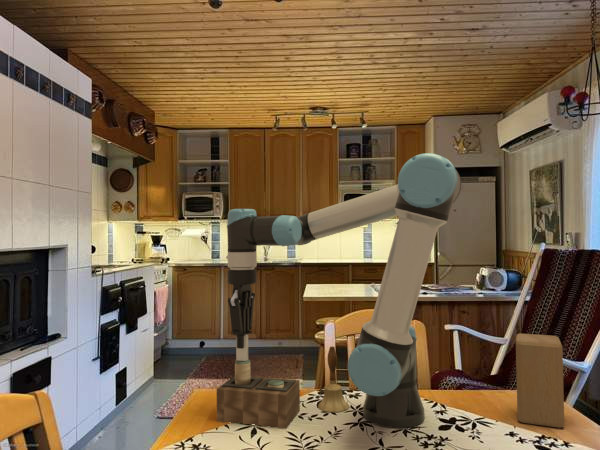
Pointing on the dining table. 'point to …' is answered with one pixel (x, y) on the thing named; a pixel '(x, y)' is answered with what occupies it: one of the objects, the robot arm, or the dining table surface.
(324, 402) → the hand bell
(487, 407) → the dining table surface
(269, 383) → the peg
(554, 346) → the block
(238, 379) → the peg
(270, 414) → the socket block
